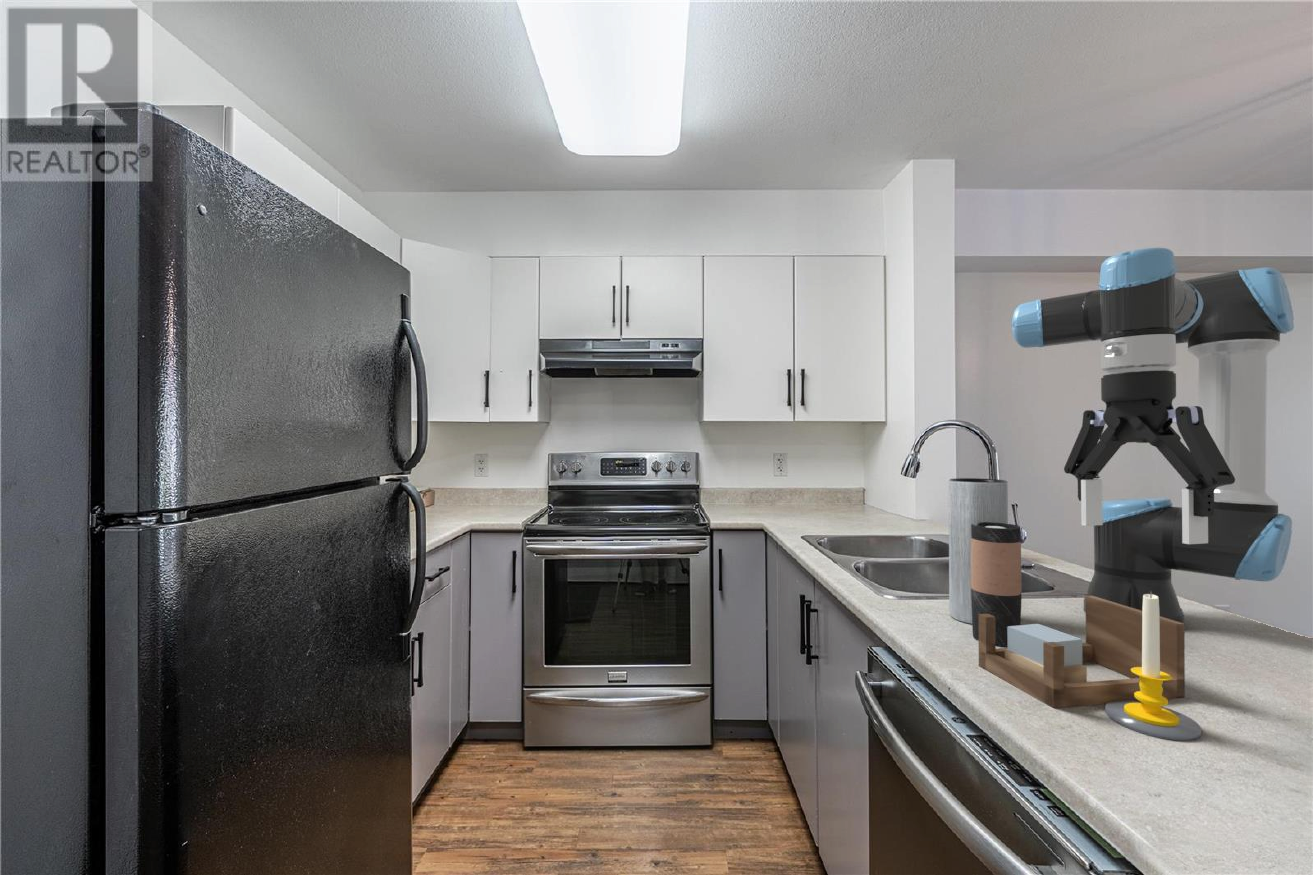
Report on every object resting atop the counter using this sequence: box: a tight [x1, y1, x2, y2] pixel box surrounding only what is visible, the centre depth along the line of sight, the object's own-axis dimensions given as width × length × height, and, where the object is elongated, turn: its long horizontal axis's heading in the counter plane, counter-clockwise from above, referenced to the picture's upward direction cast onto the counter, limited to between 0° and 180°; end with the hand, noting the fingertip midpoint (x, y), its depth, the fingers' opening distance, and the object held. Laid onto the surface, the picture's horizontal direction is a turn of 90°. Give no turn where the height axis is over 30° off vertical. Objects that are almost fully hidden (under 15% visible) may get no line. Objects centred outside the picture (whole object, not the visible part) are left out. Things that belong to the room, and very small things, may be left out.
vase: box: [948, 477, 1009, 625], centre depth 112 cm, size 10×10×27 cm
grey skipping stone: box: [1104, 700, 1202, 742], centre depth 71 cm, size 9×9×1 cm
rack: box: [978, 595, 1186, 709], centre depth 83 cm, size 20×14×10 cm
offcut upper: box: [1007, 623, 1083, 666], centre depth 83 cm, size 6×7×4 cm
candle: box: [1124, 592, 1179, 727], centre depth 71 cm, size 5×5×16 cm
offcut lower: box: [1004, 647, 1088, 684], centre depth 83 cm, size 6×8×4 cm
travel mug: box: [971, 522, 1023, 648], centre depth 100 cm, size 8×8×20 cm
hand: (1139, 533), depth 75 cm, fingers open, 13 cm apart
